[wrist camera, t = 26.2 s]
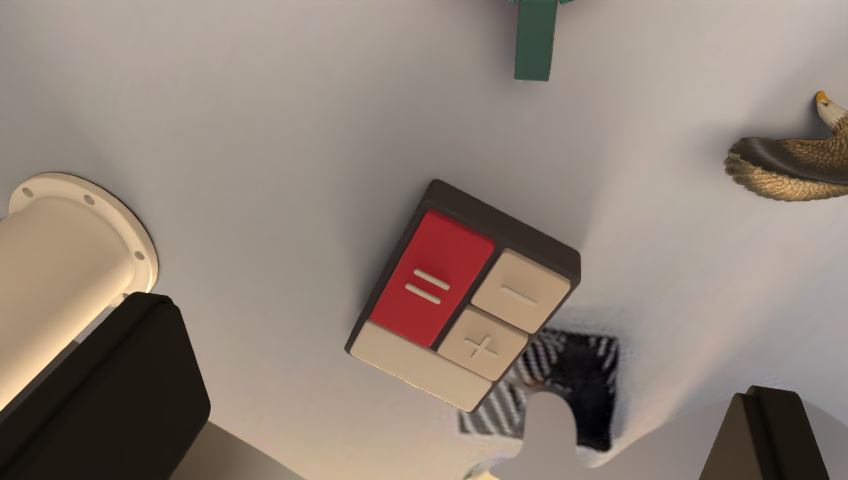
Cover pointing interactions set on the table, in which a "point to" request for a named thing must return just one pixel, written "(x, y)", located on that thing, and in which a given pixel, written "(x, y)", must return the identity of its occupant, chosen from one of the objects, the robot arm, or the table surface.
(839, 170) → the eagle figurine
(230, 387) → the table surface
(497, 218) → the calculator
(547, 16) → the teal ring
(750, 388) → the robot arm
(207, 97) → the table surface
